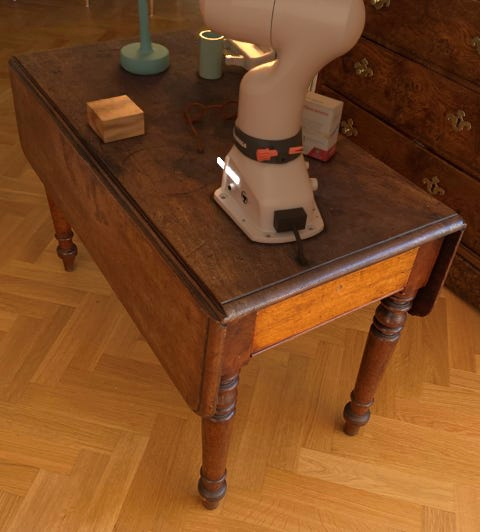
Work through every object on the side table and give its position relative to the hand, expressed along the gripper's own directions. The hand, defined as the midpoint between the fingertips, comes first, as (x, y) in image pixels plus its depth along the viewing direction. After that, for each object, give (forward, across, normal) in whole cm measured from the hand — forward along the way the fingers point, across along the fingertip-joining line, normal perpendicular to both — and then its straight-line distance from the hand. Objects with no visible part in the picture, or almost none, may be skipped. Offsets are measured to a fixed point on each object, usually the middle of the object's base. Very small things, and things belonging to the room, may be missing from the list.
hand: (217, 53), depth 151 cm
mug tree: (+16, -9, +6) cm, 19 cm away
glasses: (+11, +29, +6) cm, 32 cm away
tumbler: (+2, 0, +5) cm, 6 cm away
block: (+32, +20, +6) cm, 38 cm away
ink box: (-5, +42, +6) cm, 42 cm away
